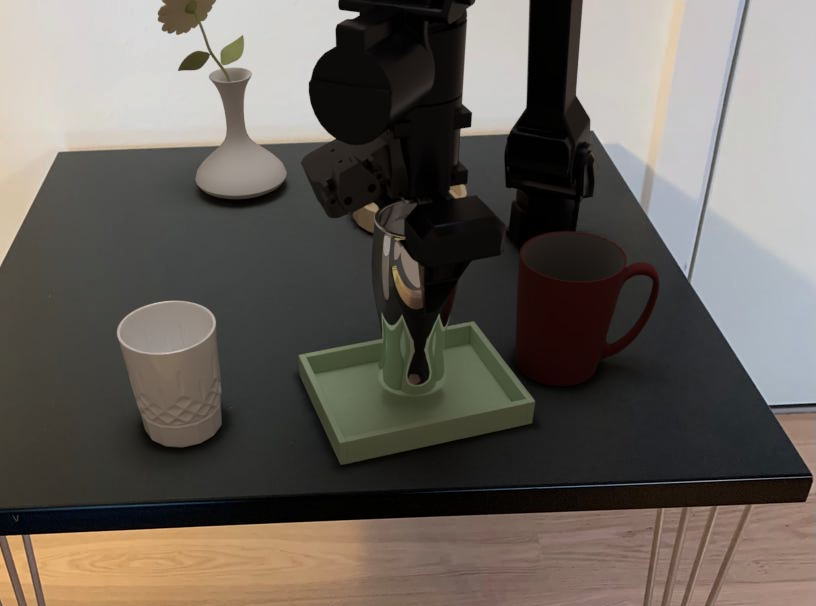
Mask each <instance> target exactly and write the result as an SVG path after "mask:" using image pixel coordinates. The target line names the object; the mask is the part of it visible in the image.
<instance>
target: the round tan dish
mask: <svg viewBox="0 0 816 606" xmlns="http://www.w3.org/2000/svg"><path fill="white" fill-rule="evenodd" d="M449 192H450V193H451V194H452V195H453V196H454V197H455V198H462V197H467V196H468V192H467V187H466V184H463V185H457V186H451V187H450V191H449ZM378 210H379V209H378V206H377V205H376V204H375V203H374V202H372V203H370V204H368V205H367V206H365V207H363V208H361V209H359V210H357V211H355V212H353V213H352V219H354V221H355V222H356V224H357V225H358V226H359V227H361V228H362V229H364V230H365V231H367V232H368V233H371V234H373V232H374V216H375V213H376V212H377V211H378Z"/></svg>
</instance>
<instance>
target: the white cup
mask: <svg viewBox="0 0 816 606" xmlns="http://www.w3.org/2000/svg"><path fill="white" fill-rule="evenodd" d="M116 337H117V340H118V344H119V347H120V352H121V354H122V358H123V361H124V365H125V369H126V373H127V376H128V380H129V383H130V387H131V389H132V392H133V395H134V401H135V402H136V405H137V408H138V411H139V413H140V416H141V420H142V424H143V427H144V430H145V432H146V433H147V435H148V436H149V438H150V439H151V441H153V442H155V443H157V444H159V445H162V446H164V447H168V448H169V447H171V448H187V447H191V446H197V445H200V444H203V443H204V442H205V441H207V440H209V439H211V438H212V437H214V436H215V435H216V434H217V432H218V431H219V429H220V428H221V427H222V425H223V408H222V378H221V377H222V376H221V365H220V354H219V343H218V342H219V341H218V331H217V319H216V316H215V315H214V313H213V312H212V311H211V310H210V309H209V308H207V307H206V306H203V305H202V304H199V303H195V302H192V301H186V300H164V301H159V302H153V303H150V304H147V305H144V306H141V307H139V308H136V309H135V310H133V311H131V312H130V313H128V314H127V315H125V317H123V319H122V320H121V321H120V322H119V324H118V325H117V329H116Z"/></svg>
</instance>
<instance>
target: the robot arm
mask: <svg viewBox="0 0 816 606" xmlns="http://www.w3.org/2000/svg"><path fill="white" fill-rule="evenodd" d="M475 3H476V0H337V7H338V10H339V11H344V12H352V13H358V15H357V16H356V17H354V18H347V19H344V20H342V21H340V22H339V23H337V24H336V26H335V30H334V31H335V46H334V47H332V48H330V49H328V50H327V51H326V52H324V53H322V55H321V56H320V57H319V58H318V60H317V61H316V63H315V64H314V67H313V69H312V73H311V76H310V80H309V81H308V96H309V101H310V106H311V108H312V112H313V114H314V116H315V118H316V119H317V121H318V123H319V124H320V126H321V127H322V128H323V129H324V130H325V132H327V134H329V135H330V136H331V137H333V138H334V139H333V140H331V141H329V142H327V143H325V144H324V145H321V146H320V147H318V148H316V149H314V150H312V151H311V152H309V153H307V154H306V155H304V156H303V157H302V158H301V162H300V164H301V167H302V169H303V171H304V174H305V176H306V178H307V180H308V182H309V185H310V187H311V189H312V191H313V194H314V196H315V198H316V201H317V202H318V203H319V204H320V206H321V208H322V209H323V211H324V213H325V214H326V216H327V217H328V218H330V219H339V218H343V217H344V216H346V215H348V214H353V212H355V211H357V210H359V209H361V208H363V207H365V206H367V205H368V204H370V203H372V202H374V203H375V204H376V205H377V206H378V209H380V208H381V207H382V206H384V205H386V204H388V203H391V202H393V201H397V200H402V201H403V202H404V203H405V204H414V203H416V204H417V206H416V207H415V208H414V209H413V210H412V211H411V212H410V214H409V215H408V216H407V217H406V218H405V219H404V235H405V239H403V240H399V242H400V244H401V245H402V246H403V248H404V249H405V250H406V252H407V253H408V254H409V256H410V257H411V258H412V259H413V260H414V261H416V262H418V269H419V277H420V286H421V294H422V300H423V306H424V311H425V312H426V313H427V314H430V313H435V312H438V311H439V310H440V308H441V307H442V305H443V304H444V302H445V300H446V299H447V297H448V296H449V294H450V293H451V291H452V289H453V288H454V286H455V285H456V283H457V281H458V282H459V280H460V279H461V277H462V275H463V274H464V273H465V271H466V269H467V268H468V267H469V265H471V263H472V262H473V261H477V260H483V259H489V258H495V257H499V256H501V255H502V254H503V252H504V251H505V246H506V245H505V243H506V237H507V236H509V238H510V239H511V240H512V241H513V242H514V243H515V244H516V245H517V246H518V247H519V248H520V249H521V248H522V246H523V245H524V244H525V243H526V242H527V241H528V240H530V239H532V238H534V237H536V236H538V235H542V234H545V233H551V232H561V231H572V232H577V226H578V225H577V224H578V219H579V212H580V207H581V203H582V202H583V200H584V199H589V198H594V196H595V193H596V188H597V180H598V171H599V162H598V158H597V155H596V151H595V150H596V149H595V146H594V144H593V143H591V118H590V116H589V114H588V113H587V111H586V110H585V108H584V106H583V104H582V103H581V101H580V99H579V98H578V96H577V85H578V73H579V72H578V70H579V60H580V59H579V58H580V43H581V33H582V31H581V30H582V19H583V18H582V16H583V3H584V0H528V28H527V29H528V33H527V34H528V36H527V65H526V66H527V68H526V69H527V72H526V102H525V103H526V104H525V109H524V110H523V111H522V113H521V115H520V116H519V117H518V118H517V120H516V122H515V124H514V125H513V126H512V128H511V129H510V131H509V134H508V136H507V137H506V144H505V147H504V154H503V155H504V156H503V163H504V180H505V188H506V189H514V190H516V192H515V193H516V195H515V199H513V200H512V201H511V205H510V214H509V223H508V226H507V225H506V223H504V222H503V221H502V219H500V217H498V215H497V214H496V213H495V212H494V211H493V210H492V209H491V208H490V207H489V206H488V205H487V203H485V202H484V201H483V200H482V199H480V197H478V196H477V195H476V194H474V195H469V196H468V195H467V197H462V198H455V197H454V196H453V195H452V194H451V193H450V192H449V191H450V187H451V186H457V185H463V184H464V185H467V184H468V182H469V181H468V180H469V179H468V178H469V169H468V168H467V167H466V166H465V165H464V164H463V163H462V162H461V161H460V144H461V143H460V142H461V130H463V129H469V128H472V121H473V120H472V119H473V112H472V111H471V110H470V109H469V108H468V107H467V106H465V105H464V104H463V96H464V78H465V62H466V46H467V28H468V11H467V9H469V8H470V7H472V6H473V5H475ZM506 234H507V235H506Z"/></svg>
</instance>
